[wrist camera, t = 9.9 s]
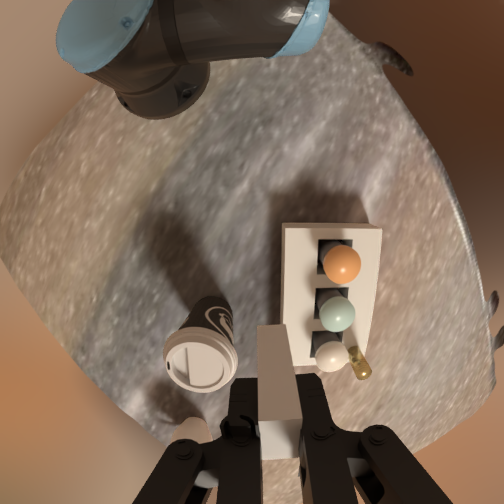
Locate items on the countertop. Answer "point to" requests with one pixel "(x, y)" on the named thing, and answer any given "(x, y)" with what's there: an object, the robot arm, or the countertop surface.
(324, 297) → the knob
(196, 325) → the coffee cup
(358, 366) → the cylinder
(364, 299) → the panel
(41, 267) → the countertop surface
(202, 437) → the mug
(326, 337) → the knob
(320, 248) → the knob
